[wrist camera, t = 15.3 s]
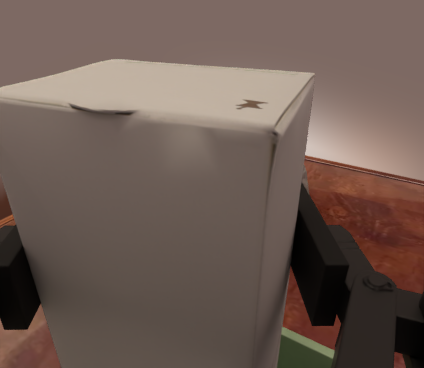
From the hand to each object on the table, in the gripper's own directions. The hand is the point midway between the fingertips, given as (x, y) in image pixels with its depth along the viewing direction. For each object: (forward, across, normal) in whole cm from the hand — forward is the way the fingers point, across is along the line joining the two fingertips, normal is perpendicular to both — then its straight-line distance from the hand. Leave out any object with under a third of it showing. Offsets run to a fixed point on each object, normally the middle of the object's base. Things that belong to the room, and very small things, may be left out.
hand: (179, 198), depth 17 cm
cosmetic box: (-4, 0, -9) cm, 10 cm away
